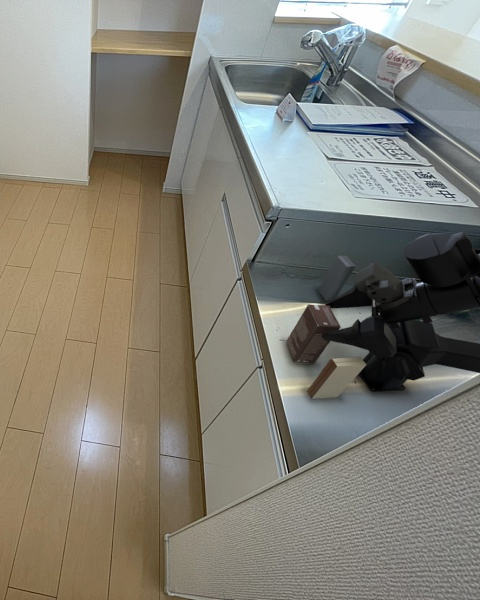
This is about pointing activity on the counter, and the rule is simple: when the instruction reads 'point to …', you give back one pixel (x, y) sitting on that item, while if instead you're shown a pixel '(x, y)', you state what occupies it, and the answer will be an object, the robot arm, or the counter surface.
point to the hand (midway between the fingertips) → (324, 321)
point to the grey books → (336, 277)
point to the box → (311, 334)
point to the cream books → (335, 377)
